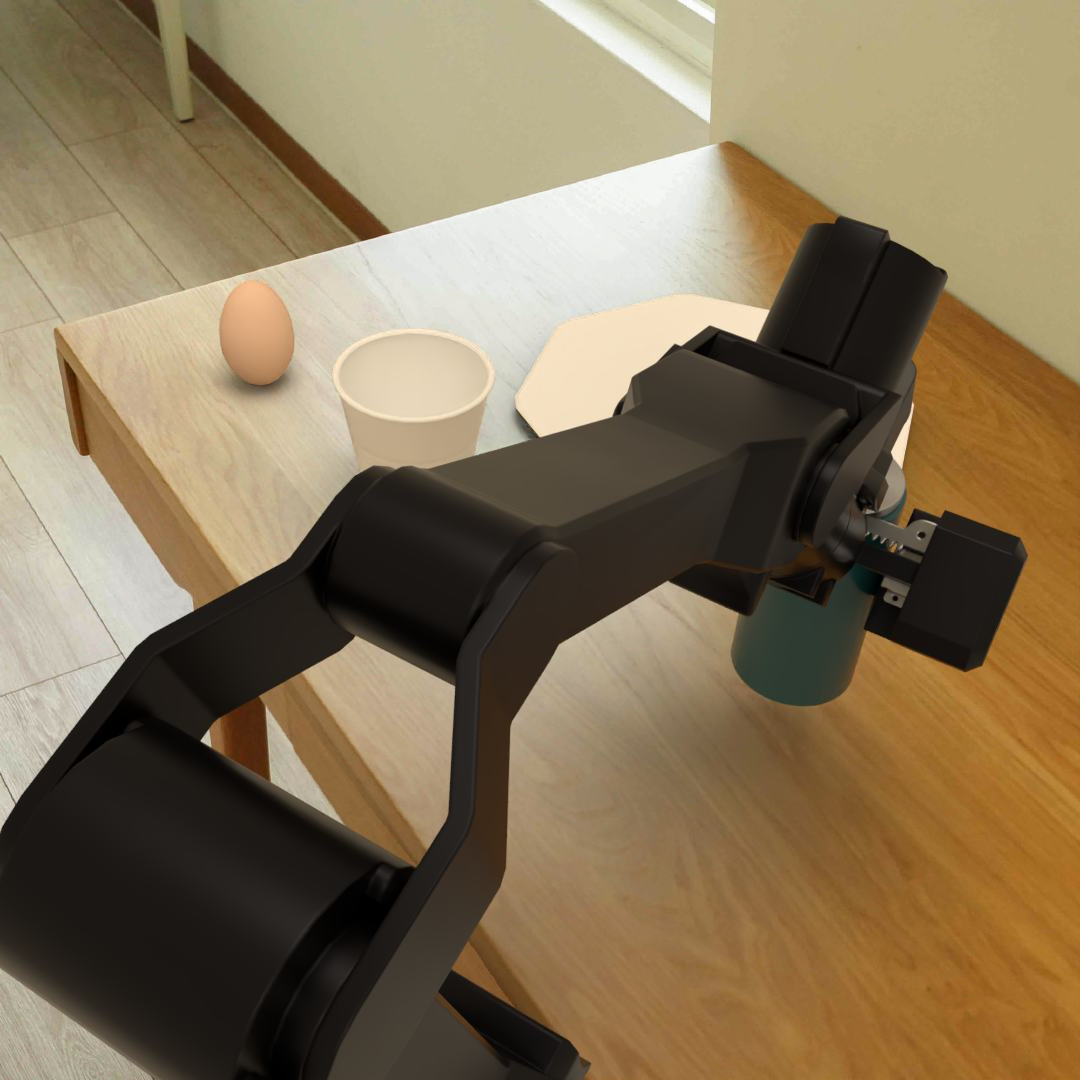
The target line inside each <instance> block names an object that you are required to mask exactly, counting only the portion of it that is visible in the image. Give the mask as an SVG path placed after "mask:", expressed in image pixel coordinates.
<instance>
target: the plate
mask: <svg viewBox="0 0 1080 1080" xmlns="http://www.w3.org/2000/svg"><path fill="white" fill-rule="evenodd" d="M769 311H770V309H767V308H762V307H757V306H752V305H748V304H742V303H739V302H733V301H729V300H723V299H718V298H715V297H709V296H705V295H699V294H694V293H674V294H671V295H666V296H662V297H657V298H654V299H649V300H645V301H640V302H637V303H633V304H627V305H624V306H620V307H616V308H615V307H614V308H612V309H607V310H603V311H599V312H595V313H591V314H586V315H582V316H578V317H572V318H570V319H566V320H565V321H563V322H562V323H559V324H558V325H556V326H555V327H554V329H553V330H552V333H551V335H550V336H549V338H548V340H547V341H546V343H545V345H544V347H543V348H542V350H541V351H540V353H539V355H538V357H537V359H536V360H535V361H534V364H533V366H532V367H531V369H530V370H529V372H528V374H527V375H526V377H525V379H524V380H523V382H522V384H521V386H520V388H519V389H518V390H517V393H516V394H515V396H514V403H515V405H514V406H515V411H516V412H517V414H518V415H519V416H520V417H521V419H522V420H523V421H524V422H525V424H526V425H527V426H528V427H529V429H531V431H532V432H533V433H534V434H535V436H536V437H537V438H539V437H543V436H546V435H550V434H553V433H557V432H560V431H564V430H568V429H571V428H575V427H578V426H582V425H585V424H589V423H592V422H596V421H599V420H603V419H606V418H610V417H612V416H613V413H614V410H615V408H616V406H617V404H618V402H619V401H620V400H621V399H622V398H623V397H624V395H625V394H626V393H627V392H628V389H629V385H630V382H631V379H632V377H633V376H634V375H636V374H637V373H639V372H641V371H643V370H644V369H646V368H648V367H650V366H651V365H653V364H655V363H656V362H657V361H658V360H659V359H660V358H661V357H662V356H663V355H664V354H665V353H666V352H667V351H668V350H669V349H670V348H671V347H672V346H673V345H674V344H677V345H680V346H682V345H683V344H685V343H686V342H688V341H689V340H690V339H692V338H693V337H694V336H696V335H697V334H698V333H700V332H701V331H702V330H704V329H705V328H706V327H708V326H709V325H711V326H713V327H716V328H719V329H722V330H724V331H727V332H730V333H733V334H735V335H738V336H741V337H744V338H746V339H749V340H752V341H755V342H756V339H757V337H758V335H759V333H760V331H761V328H762V326H763V324H764V322H765V320H766V317H767V315H768V313H769ZM914 409H915V403H914V402H913V401H912V407H911V413H910V416H909V418H908V420H907V422H906V423H905V424H904V426H903V428H902V430H901V432H900V435H899V437H898V439H897V441H896V443H895V445H894V447H893V449H892V451H891V454H892V456H893V459H894V460H895V461H896V462H897V463H898V465H899V466H900V467H901V469H902V470H903V465H904V459H905V455H906V454H905V453H906V449H907V445H908V440H909V435H910V428H911V423H912V418H913V414H914Z"/></svg>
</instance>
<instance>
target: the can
mask: <svg viewBox="0 0 1080 1080" xmlns="http://www.w3.org/2000/svg"><path fill="white" fill-rule="evenodd" d="M885 478H886V481H887V483H888V485H889V488H888V490H887V492H886V495H885V497H884V499H883V502H882V504H881V506H880V509H879V511H878V512H874V511H871V510H869V509H867V510H866V514H868V515H871V516H874V517H876V518H879V519H881V520H884V521H887V522H889V523H892V524H895V525H897V526H900V522H901V518H902V516H903V512H904V509H905V506H906V502H907V498H908V496H907V495H908V491H907V486H906V485H907V484H906V483H907V482H906V477H905V474H904V471H903V468H902V469H901V467H900V466H899V465H898V463H897V462H896V461H895V460H894V459H893V461H892V463H891V465H890V468H889V470H888V472H887V475H886V477H885ZM865 542H867V543H870V544H872V545H875V546H878V547H880V548H883V549H885V550H888V551H891V552H892V549H893V547H892V548H890V547H889V540H887V541H886V542H885V543H884V544H883V545H882V544H880V537H878V538H877V539H876V540H875V542H874V541H872V534H870V535H869V536H868V537H867V538H865ZM882 576H883V575H881V574H879V573H876V572H874V571H871V570H868V569H866V568H863V567H861V566H858V565H856V564H854V566H853V567H852V568H851V569H850V571H849V572H848V573H847V574H846V575H845V576H843V577H842V578H841V579H840V580H838V581H836V584H835V586H834V588H833V591H832V593H831V595H830V598H829V600H828V603H827V605H826V607H822V606H820V605H817V604H815V603H812V602H810V601H808V600H805V599H803V598H800V597H798V596H795V595H793V594H790V593H788V592H785V591H783V590H781V589H778V588H776V587H773V586H771V585H768V584H767V585H766V588H765V590H764V592H763V594H762V597H761V599H760V601H759V603H758V605H757V608H756V610H755V612H754V613H753V615H752V616H750V617H746V616H743V615H741V614H739V613H737V614H738V615H737V619H736V624H735V627H734V628H735V629H734V633H733V638H732V643H731V648H730V658H731V664H732V665H733V668H734V670H735V672H736V674H737V675H738V677H739V678H740V680H741V681H742V682H743V683H744V684H745V685H746V686H747V687H748V688H749V689H751V690H752V691H753V692H754V693H756V694H758V695H760V696H762V697H763V698H766V699H767V700H770V701H772V702H775V703H777V704H778V703H779V704H782V705H787V706H791V707H816V706H821V705H824V704H827V703H830V702H832V701H834V700H836V699H838V697H839V698H840V697H841V696H842V695H843V694H844V693H845V692H846V691H847V690H848V689H849V687H850V686H851V684H852V681H853V678H854V675H855V672H856V668H857V665H858V662H859V658H860V655H861V651H862V649H863V644H864V641H865V638H866V635H867V632H868V631H866V630H864V625H865V622H866V619H867V616H868V613H869V610H870V607H871V604H872V601H873V598H874V595H875V593H876V590H877V588H878V586H879V583H880V581H881V579H882Z"/></svg>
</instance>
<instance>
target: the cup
mask: <svg viewBox="0 0 1080 1080" xmlns="http://www.w3.org/2000/svg"><path fill="white" fill-rule="evenodd" d="M331 373H332V374H331V381H332V384H333V388H334V390H335V393H337V394H338V396H339V398H340V402H341V406H342V410H343V413H344V418H345V421H346V424H347V425H346V426H347V430H348V433H349V437H350V440H351V444H352V447H353V452H354V456H355V459H356V463H357V468H358V471H359V473H360V472H362V471H364V470H366V469H368V468H370V467H371V466H373V465H375V466H389V467H391V468H394V469H398V468H400V467H402V466H415V467H418V468H425V469H429V468H433V467H436V466H440V465H443V464H447V463H451V462H454V461H458V460H461V459H465V458H468V457H472V456H475V453H476V448H477V445H478V440H479V435H480V431H481V426H482V423H483V420H484V419H483V418H484V414H485V411H486V406H487V401H488V397H489V395H490V394H491V392H492V391H493V389H494V385H495V383H496V371H495V367H494V364H493V362H492V360H491V359H490V358H489V356H488V355H487V354H486V353H485V351H484V350H483V349H481V348H480V347H479V346H478V345H476V344H475V343H473V342H471V341H470V340H467V339H465V338H464V337H461V336H458V335H456V334H453V333H451V332H446V331H443V330H442V331H441V330H438V329H437V330H436V329H427V328H399V329H398V328H397V329H390V330H385V331H381V332H376V333H373V334H371V335H368V336H365V337H363V338H361V339H359V340H357V341H356V342H353V343H352V344H350V345H349V346H348V347H347V348H346V349H344V350H343V351H342V352H341V353H340V354H339V356H338V357H337V358H336V360H335V362H334V365H333V368H332V372H331Z"/></svg>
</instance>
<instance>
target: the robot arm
mask: <svg viewBox="0 0 1080 1080" xmlns="http://www.w3.org/2000/svg"><path fill="white" fill-rule="evenodd" d="M948 278H949V275H948V272H947V271H946V269H944V268H942V267H940V266H936V265H934V264H933V263H932V262H931V261H929V260H928V259H927V258H925V257H923V256H922V255H920V254H919V253H917V252H916V251H914V250H912V249H910V248H908V247H907V246H904V245H903V244H900V243H898V242H896V241H894V240H892V239H891V236H890V232H889V230H888V229H886V228H882V227H879V226H876V225H873V224H869V223H866V222H864V221H860V220H857V219H854V218H851V217H848V216H844V215H841V214H840V215H838V216H837V217H836V219H835V222H834V223H831V222H816V223H812V224H810V225H808V226H807V228H806V229H805V231H804V233H803V235H802V238H801V239H800V242H799V244H798V247H797V249H796V251H795V253H794V255H793V258H792V260H791V262H790V264H789V267H788V268H787V271H786V272H785V276H784V277H783V280H782V282H781V284H780V285H779V289H778V291H777V293H776V295H775V297H774V299H773V302H772V303H771V306H770V309H769V310H770V311H769V313H768V315H767V317H766V320H765V322H764V324H763V326H762V328H761V331H760V333H759V335H758V337H757V339H756V342H755V341H752V340H749V339H746V338H744V337H741V336H738V335H735V334H733V333H730V332H727V331H724V330H722V329H719V328H716V327H713V326H711V325H709V326H708V327H706V328H705V329H704V330H702V331H701V332H700V333H698V334H697V335H696V336H694V337H693V338H692V339H690V340H689V341H688V342H686V343H685V344H683V345H682V346H680V345H677V344H674V345H673V346H672V347H671V348H670V349H669V350H668V351H667V352H666V353H665V354H664V355H663V356H662V357H661V358H660V359H659V360H658V361H657V362H656V363H655V364H653V365H651V366H650V367H648V368H646V369H644V370H643V371H641V372H639V373H637V374H636V375H634V376H633V377H632V379H631V382H630V385H629V389H628V392H627V393H626V394H625V395H624V397H623V398H622V399H621V400H620V401H619V402H618V404H617V406H616V408H615V410H614V413H613V416H612V417H610V418H606V419H603V420H599V421H596V422H592V423H589V424H585V425H582V426H578V427H575V428H571V429H568V430H564V431H560V432H557V433H553V434H550V435H546V436H543V437H539V438H538V437H537V438H532V439H529V440H525V441H521V442H517V443H515V444H511V445H508V446H504V447H500V448H497V449H493V450H490V451H486V452H483V453H480V454H479V453H478V454H474V456H472V457H468V458H465V459H461V460H458V461H454V462H451V463H447V464H443V465H440V466H436V467H433V468H429V469H425V468H418V467H415V466H402V467H400V468H398V469H394V468H391V467H389V466H375V465H373V466H371V467H370V468H368V469H366V470H364V471H362V472H360V471H359V473H357V474H354V476H353V477H352V478H350V480H349V481H348V482H347V483H346V484H345V485H344V486H343V487H342V488H341V490H339V492H338V493H336V495H335V496H334V497H333V499H332V500H331V501H330V503H329V504H328V505H327V507H326V508H325V509H324V511H323V512H322V513H321V515H320V516H319V517H318V518H317V520H316V521H315V523H314V524H313V526H312V527H311V528H310V530H309V531H308V532H307V533H306V535H305V536H304V538H303V539H302V540H301V541H300V543H299V545H298V546H297V547H296V549H295V550H294V551H293V552H292V554H291V555H290V556H289V557H288V558H286V560H285V561H282V562H281V563H279V564H277V565H276V566H273V567H272V568H270V569H268V570H266V571H265V572H262V573H261V574H258V575H257V576H255V577H253V578H251V579H250V580H247V581H246V582H244V583H242V584H240V585H238V586H236V587H235V588H233V589H231V590H229V591H227V592H225V593H224V594H222V595H220V596H218V597H216V598H215V599H212V600H211V601H209V602H207V603H205V604H204V605H201V606H200V607H198V608H196V609H194V610H193V611H191V612H189V613H186V614H185V615H183V616H181V617H179V618H178V619H176V620H174V621H172V622H170V623H168V624H166V625H165V626H163V627H161V628H159V629H158V630H156V631H154V632H152V633H150V634H149V635H148V636H146V637H145V638H144V639H143V640H142V641H140V643H139V644H137V645H136V646H135V647H134V648H133V650H132V651H131V652H130V653H129V654H128V656H127V657H126V659H125V660H124V661H123V663H121V665H120V666H119V667H118V669H117V670H116V671H115V673H114V674H113V675H112V677H111V678H110V680H108V682H107V683H106V684H105V685H104V687H103V689H102V690H101V691H100V692H99V693H98V695H97V696H96V697H95V699H94V700H93V701H92V703H91V704H90V705H89V707H87V709H86V711H84V713H83V715H82V716H81V717H80V718H79V719H78V721H77V722H76V723H75V724H74V726H73V727H72V729H71V730H70V731H69V732H68V734H67V735H66V737H64V739H63V741H61V743H60V744H59V746H58V747H57V748H56V749H55V750H54V752H53V753H52V754H51V756H50V757H49V758H48V760H47V761H46V763H45V764H44V765H43V766H42V768H40V770H39V772H38V773H37V774H36V775H35V777H34V778H33V779H32V781H31V782H30V783H29V785H27V787H26V788H25V790H24V791H23V792H22V793H21V795H20V796H19V798H18V800H17V801H16V803H15V805H14V806H13V808H12V810H11V811H10V813H9V814H8V816H7V817H6V819H5V821H4V822H3V824H2V826H1V829H0V970H2V971H3V972H4V973H6V974H7V975H8V976H10V977H12V978H13V979H14V980H15V981H17V982H19V983H20V984H21V985H23V986H24V987H25V988H27V989H28V990H30V991H31V992H33V993H34V994H35V995H37V996H38V997H39V998H40V999H42V1000H44V1001H45V1002H46V1003H48V1004H49V1005H50V1006H52V1007H53V1008H55V1009H56V1010H57V1011H59V1012H60V1013H62V1014H63V1015H64V1016H66V1017H67V1018H69V1019H70V1020H72V1021H73V1022H75V1023H76V1025H79V1026H80V1027H81V1028H83V1030H85V1031H87V1032H88V1033H90V1034H91V1035H92V1036H94V1037H95V1038H96V1039H98V1040H100V1042H102V1043H103V1044H105V1045H107V1047H109V1048H110V1049H112V1050H113V1051H115V1052H116V1053H117V1054H119V1055H120V1056H122V1057H123V1058H124V1059H126V1060H127V1061H129V1062H130V1063H131V1064H133V1065H134V1066H136V1067H137V1068H138V1069H140V1070H141V1071H143V1072H144V1073H146V1074H147V1075H148V1076H149V1077H151V1078H152V1079H154V1080H584V1078H585V1077H586V1075H587V1074H588V1072H589V1071H590V1069H591V1066H592V1063H591V1062H590V1061H589V1060H587V1059H585V1058H584V1057H582V1056H581V1055H580V1052H579V1050H577V1048H576V1047H575V1045H573V1043H572V1042H571V1041H570V1040H569V1039H568V1038H566V1037H565V1036H563V1035H561V1034H560V1033H558V1032H557V1031H555V1030H553V1029H551V1028H549V1027H548V1026H547V1025H545V1024H543V1023H541V1022H540V1021H538V1020H537V1019H535V1018H533V1017H531V1016H530V1015H529V1014H526V1013H525V1012H523V1011H522V1010H520V1009H518V1008H516V1007H515V1006H513V1005H512V1004H510V1003H509V1002H507V1001H505V1000H504V999H502V998H500V997H498V996H497V995H495V994H494V993H492V992H491V991H489V990H487V989H486V988H484V987H482V986H481V985H479V984H477V983H475V982H474V981H472V980H471V979H469V978H468V977H465V976H464V975H462V974H460V973H459V972H458V971H456V970H454V969H453V967H454V965H455V964H456V962H457V961H458V959H459V957H460V956H461V954H462V952H463V950H464V949H465V947H466V945H467V944H468V942H469V940H470V939H471V937H472V935H473V933H474V932H475V930H476V929H477V927H478V925H479V924H480V922H481V920H482V919H483V917H484V915H485V913H487V911H488V909H489V907H490V905H491V904H492V902H493V900H494V899H495V897H496V895H497V893H498V892H499V890H500V888H501V887H502V883H503V880H504V877H505V873H506V870H507V856H508V855H507V854H508V825H509V824H508V823H509V822H508V821H509V820H508V819H509V793H510V791H509V788H510V759H511V754H510V753H511V729H512V724H513V721H514V719H515V717H516V716H517V714H518V713H519V711H520V710H521V708H522V707H523V705H524V704H525V702H526V700H527V699H528V697H529V695H530V694H531V692H532V691H533V690H534V687H535V686H536V684H537V683H538V682H539V679H540V678H541V676H542V675H543V673H544V672H545V670H546V668H547V667H548V665H549V664H550V662H551V660H552V659H553V657H554V655H555V653H556V651H557V649H558V648H559V646H560V645H561V644H562V643H564V642H566V641H568V640H569V639H571V638H572V637H575V636H576V635H578V634H580V633H582V632H583V631H585V630H587V629H588V628H590V627H592V626H593V625H595V624H597V623H598V622H601V621H602V620H603V619H605V618H607V617H609V616H611V615H612V614H614V613H616V612H617V611H619V610H620V609H622V608H624V607H626V606H628V605H629V604H631V603H633V602H634V601H636V600H638V599H640V598H641V597H643V596H645V595H646V594H648V593H650V592H652V591H653V590H655V589H657V588H658V587H661V586H662V585H663V584H665V583H670V584H672V585H674V586H676V587H679V588H681V589H683V590H685V591H688V592H690V593H692V594H695V595H696V596H699V597H701V598H703V599H706V600H708V601H710V602H712V603H714V604H717V605H719V606H721V607H723V608H726V609H728V610H730V611H731V612H735V613H737V614H741V615H743V616H746V617H750V616H752V615H753V613H754V612H755V610H756V608H757V605H758V603H759V601H760V599H761V597H762V594H763V592H764V590H765V588H766V585H767V584H768V585H771V586H773V587H776V588H778V589H781V590H783V591H785V592H788V593H790V594H793V595H795V596H798V597H800V598H803V599H805V600H808V601H810V602H812V603H815V604H817V605H820V606H822V607H826V605H827V603H828V600H829V598H830V595H831V593H832V591H833V588H834V586H835V584H836V581H838V580H840V579H841V578H842V577H843V576H845V575H846V574H847V573H848V572H849V571H850V569H851V568H852V567H853V566H854V564H856V565H858V566H861V567H863V568H866V569H868V570H871V571H874V572H876V573H879V574H881V575H883V576H882V579H881V581H880V583H879V586H878V588H877V590H876V593H875V595H874V598H873V601H872V604H871V607H870V610H869V613H868V616H867V619H866V622H865V625H864V630H866V631H867V632H868V633H871V634H873V635H875V636H877V637H878V636H879V637H881V638H883V639H885V640H888V641H890V642H891V643H893V644H896V645H897V646H900V647H902V648H905V649H907V650H909V651H911V652H913V653H916V654H918V655H921V656H923V657H926V658H928V659H931V660H933V661H935V662H938V663H941V664H943V665H945V666H948V667H951V668H953V669H955V670H958V671H960V672H963V673H968V672H970V671H974V670H975V669H978V668H981V667H983V666H984V663H985V660H986V659H987V656H988V653H989V651H990V649H991V647H992V644H993V642H994V639H995V637H996V635H997V633H998V631H999V628H1000V625H1001V623H1002V620H1003V619H1004V617H1005V613H1006V612H1007V609H1008V607H1009V604H1010V601H1011V600H1012V597H1013V594H1014V593H1015V590H1016V587H1017V585H1018V582H1019V580H1020V578H1021V576H1022V573H1023V571H1024V568H1025V566H1026V564H1027V561H1028V558H1029V553H1028V552H1027V550H1026V547H1025V545H1024V543H1023V540H1022V538H1021V536H1017V535H1014V534H1012V533H1009V532H1006V531H1003V530H1001V529H998V528H995V527H993V526H990V525H987V524H985V523H982V522H979V521H977V520H974V519H971V518H969V517H965V516H963V515H961V514H959V513H955V512H952V511H949V510H947V509H944V511H943V512H942V514H941V515H940V516H937V515H935V514H932V513H930V512H927V511H924V510H922V509H918V508H916V507H915V508H913V509H912V512H911V515H910V516H909V519H908V521H907V523H906V526H905V527H903V526H900V525H899V526H897V525H895V524H892V523H889V522H887V521H884V520H881V519H879V518H876V517H874V516H871V515H868V514H866V510H867V509H869V510H871V511H874V512H878V511H879V509H880V506H881V504H882V502H883V499H884V497H885V495H886V492H887V490H888V488H889V485H888V483H887V481H886V478H885V477H886V475H887V472H888V470H889V468H890V465H891V463H892V461H893V456H892V454H891V451H892V449H893V447H894V445H895V443H896V441H897V439H898V437H899V435H900V432H901V430H902V428H903V426H904V424H905V423H906V422H907V420H908V418H909V416H910V413H911V407H912V402H913V399H914V393H915V387H916V379H917V372H918V371H917V366H916V363H915V362H914V360H913V357H914V356H915V353H916V351H917V349H918V346H919V344H920V342H921V340H922V337H923V335H924V333H925V331H926V328H927V326H928V325H929V322H930V320H931V317H932V316H933V313H934V311H935V309H936V307H937V304H938V302H939V299H940V298H941V296H942V293H943V291H944V288H945V287H946V284H947V282H948ZM870 534H872V541H874V542H875V540H876V539H877V538H878V537H880V544H882V545H883V544H884V543H885V542H886V541H887V540H889V547H890V548H892V549H893V547H894V546H895V545H896V547H895V549H894V550H893V551H892V550H891V551H888V550H885V549H883V548H880V547H878V546H875V545H872V544H870V543H867V542H865V538H867V537H868V536H869V535H870ZM356 637H357V638H360V639H361V640H362V641H365V642H367V643H369V644H371V645H374V646H375V647H377V648H379V649H380V650H383V651H385V652H386V653H389V654H391V655H393V656H394V657H396V658H398V659H401V660H402V661H404V662H406V663H408V664H410V665H412V666H414V667H416V668H418V669H420V670H421V671H424V672H426V673H427V674H430V675H431V676H433V677H436V678H437V679H440V680H441V681H443V682H445V683H447V684H449V685H450V686H453V687H454V696H453V697H454V699H453V714H452V715H453V718H452V736H451V754H450V769H449V771H450V774H449V791H448V807H447V808H448V809H447V816H446V819H445V821H444V822H443V824H442V826H441V827H440V830H438V833H437V834H436V835H435V837H434V839H433V840H432V842H431V844H430V845H429V847H428V849H427V850H426V851H425V853H424V855H423V856H422V857H421V860H420V861H419V863H418V864H417V866H416V865H414V864H412V863H410V862H409V861H406V860H405V859H403V858H402V857H400V856H398V855H396V854H395V853H393V852H391V851H389V850H388V849H386V848H384V847H382V846H381V845H379V844H378V843H376V842H374V841H372V840H371V839H369V838H367V837H365V836H364V835H363V834H361V833H358V832H357V831H355V830H354V829H352V828H351V827H349V826H347V825H345V824H344V823H342V822H340V821H338V820H336V819H335V818H333V817H332V816H330V815H328V814H326V813H325V812H323V811H321V810H319V809H318V808H317V807H314V806H312V805H310V804H309V803H307V802H305V801H304V800H302V799H301V798H299V797H297V796H295V795H294V794H293V793H290V792H289V791H287V790H285V789H283V788H281V787H280V786H279V785H276V784H275V783H273V782H272V781H270V780H268V779H267V778H264V777H263V776H261V775H260V774H258V773H256V772H254V771H253V770H251V769H249V768H248V767H246V766H244V765H242V764H241V763H239V762H237V761H235V760H234V759H232V758H230V757H229V756H227V755H225V754H224V753H222V752H220V751H219V750H217V749H216V748H214V747H211V746H210V745H208V744H206V743H204V742H203V741H202V740H203V738H204V737H205V735H206V734H207V733H208V731H209V730H210V729H211V727H212V726H213V725H214V723H216V722H217V721H218V720H219V719H220V718H222V717H224V716H227V715H229V714H230V713H232V712H234V711H235V710H237V709H238V708H241V707H242V706H244V705H247V703H249V702H251V701H253V700H255V699H256V698H258V697H260V696H262V695H264V694H265V693H268V692H269V691H271V690H273V689H275V688H276V687H278V686H280V685H282V684H284V683H286V682H287V681H289V680H290V679H293V678H294V677H296V676H298V675H300V674H301V673H303V672H305V671H307V670H309V669H311V668H312V667H315V666H316V665H317V664H320V663H321V662H323V661H325V660H326V659H329V658H330V657H332V656H335V655H336V654H337V653H339V652H342V650H343V649H344V648H345V647H346V646H348V645H349V644H350V643H351V642H352V641H354V640H355V638H356Z"/></svg>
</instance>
